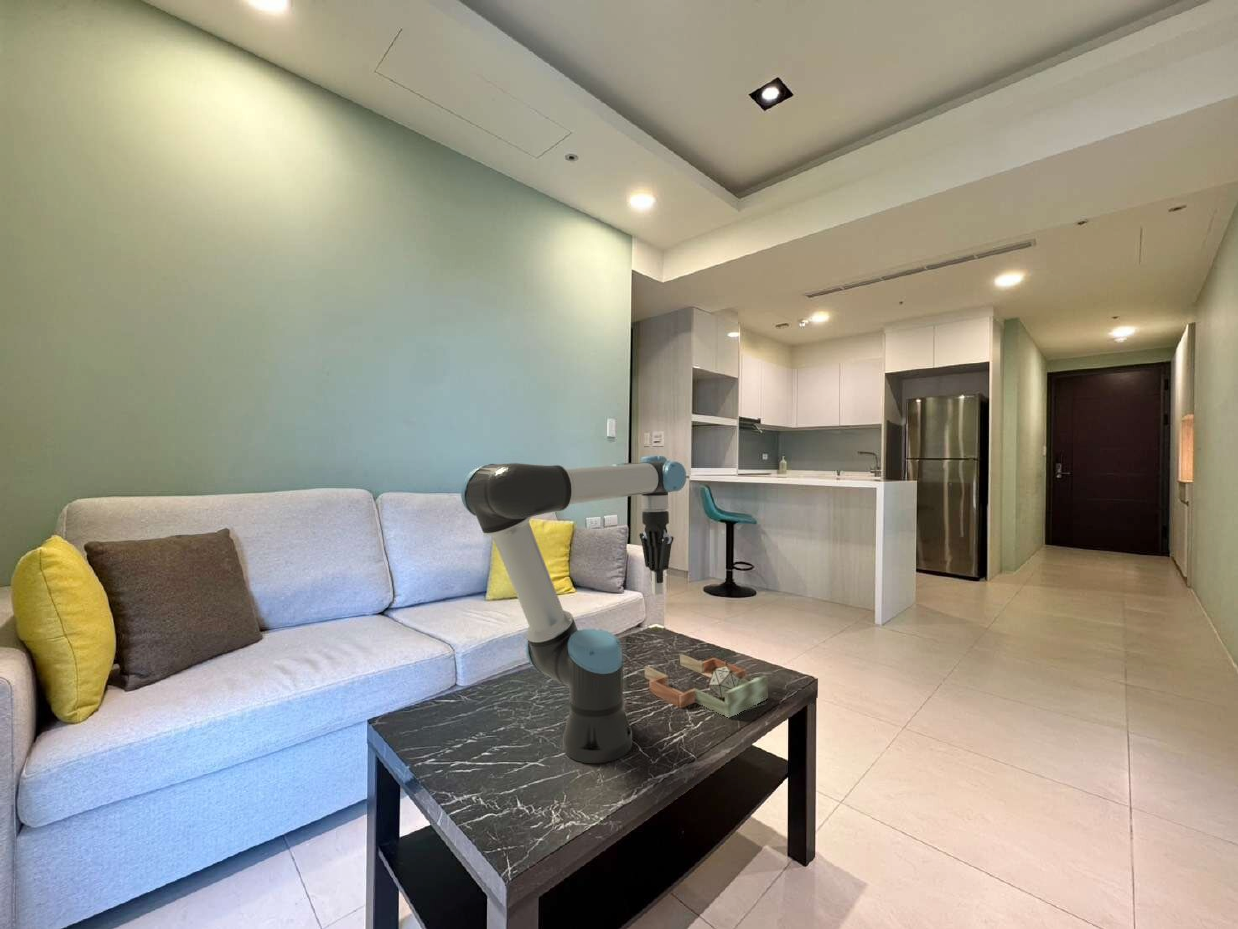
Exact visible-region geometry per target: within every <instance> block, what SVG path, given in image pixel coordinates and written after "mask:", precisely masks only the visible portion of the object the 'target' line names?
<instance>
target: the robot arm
mask: <svg viewBox="0 0 1238 929" xmlns="http://www.w3.org/2000/svg"><path fill="white" fill-rule="evenodd" d="M686 482H687V471H686V468H685V467H684V465H683V464H682V463H680V462H679V461H671V460H667V457H666V456H664V455H648V456H647V455H646V456H642V457H641V459H640V462H619V463H618V462H617V463H613V464H611V465H604V466H592V467H577V468H576V467H575V468H565V467H564V465H563V466H562V465H559V464H557V465H543V464H542V465H540V464H529V463H528V464H527V463H520V462H519V463H518V462H516V463H515V462H514V463H513V462H511V463H510V462H509V463H499V464H498V463H497V464H496V463H489V464H488V463H487V464H486V465H481V466H478V467H476V468H474V469H473V470H472V471H470V472H469V473H468V474H467V476H466V477H465V479H464V481H463V483H462V485H461V490H460V498H461V502H462V505H463V506H464V508H465V509H466V510H467V511H468V512H469V513H470V514H471V515H473V516H475V517H476V519H477V522H478V524H479V526H480V529H481V531H482V533H483V534H484V535H486V536H487V535H488V536H490V537H492V538H493V541H494V543H495V546H496V549H497V551H498V554H499V555H500V559H501V560H502V563H503V565H504V567H505V571H506V572H507V575H508V578H509V580H510V583H511V584H512V588H513V590H514V592H515V595H516V597H517V600H518V602H519V604H520V607H521V609H522V612H523V614H524V617H525V619H526V622H527V623H528V628H527V629H526V631H525V637H526V639H527V643H526V644H525V653H526V658H527V660H528V662H529V663H530V665H531V666H532V667H533V668H534V669H535V670H536V671H537V672H538V673H540V674H542V675H544V676H547V677H549V678H550V679H552V680H554V681H557V682H558V683H561V684H562V685H564V686H566V687H568V688H569V712H568V716H567V720H566V723H565V728H564V731H563V734H562V748H563V752H564V753H565V755H566V756H567V757H568V758H570V759H572V760H574V761H576V762H577V761H578V762H581V763H585V764H605V763H610V762H612V761H615V760H618V759H620V758H622V757H624V756H625V755H626V754H627V753H629V752H630V750H631V749H632V746H633V731H632V728H631V725H630V721H629V719H628V717H627V714H626V711H625V708H624V675H623V674H624V673H623V672H624V671H623V669H624V668H623V667H624V666H623V665H624V664H623V658H624V656H623V654H622V652H623V651H622V645H621V644H622V643H621V641H620V640H619V638H618V637H617V636H616V634H613V633H612V632H610V631H607V630H603V629H596V628H585V629H583V628H582V629H579V630H578V627H577V625H576V622H575V620H574V616H573V614H572V613H571V612H570V611H567V610H564V609H563V606H562V604H561V601H560V599H559V596H558V593H557V591H556V588H555V585H554V583H553V581H552V578H551V576H550V573H549V570H548V567H547V565H546V563H545V560H544V557H543V554H542V551H541V549H540V546H539V544H538V542H537V539H536V536H535V533H534V532H533V529H532V525H531V523H530V521H531V518H532V517H536V516H539V515H540V516H541V515H546V514H550V513H555V512H561V511H564V510H566V509H568V508H569V506H570V505H577V504H583V503H590V502H595V501H597V502H598V501H602V500H603V501H605V500H611V499H618V498H625V497H632V496H640V495H641V510H643V511H642V514H641V515H642V516H641V520H642V524H643V525H645V526H644V531H643V532H641V533H639V535H638V536H639V539H640V541H641V546H642V553H643V558H644V560H643V561H644V564H645V568H648V570H649V571H650V582H651V594H652V595H654V596H657V595H662V594H663V592H664V591H663V582H664V571H667V570H668V569H669V566H670V565H669V564H670V558H671V551H672V544H673V542H674V539H675V538H674V536H672V535H669V534H668V528H667V525H668V524H669V523H670V518H669V517H670V515H669V514H670V513H669V511H668V510H669V493H673V492H679V491H681V490H682V489H683V488H684V487H685V485H686Z"/></svg>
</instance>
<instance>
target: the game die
mask: <svg viewBox="0 0 1238 929" xmlns="http://www.w3.org/2000/svg"><path fill="white" fill-rule="evenodd" d="M727 663H728V662H726V663H725V665H726V666H723V667H720V668H717V669H714V667H712V669H713V670H714V671H713V672H711V674H712V677H711V678H710V679H709V684H706V685H705V687H707V688H708V687H709V688H710V689H711V690H712V691H713V692H714V693H715V694H716V695H717V696H718V697H720V700H722V701H723V699H725V692H726V691H728V690H730V689H733V688H735V687H737V685H738V682H739V679H742V678H743V677H738V676H737V675H736V674H735V673H734V672H733V671H732V670H731V669H730V668H729V667H728V666H727Z"/></svg>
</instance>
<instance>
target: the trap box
mask: <svg viewBox="0 0 1238 929" xmlns="http://www.w3.org/2000/svg"><path fill="white" fill-rule="evenodd" d="M679 659H680V660H679V661H680V663H679V664H680V666H682V667H685V668H686V669H689V670H692V671H693V672H696V673H699V674H701V675H703V676H706V677H708V678H710V679H711V677H712V674H711V672H713V671H714V670H713V669H712V667H714V669H717V668H720V667H723V666H726V665H725V663H727V666H728V667H729V668H730V669H731V670H732V671H733V672H734V673H735V674H736V675H737V676H738V677H743V678H742V679H739V682H738V685H737V687H735V688H733V689H730V690H728V691H726V692H725V698H724V701H722V700H721V699H719V698H718V697H715V696H713V695H711V694H709V693H706V692H704V691H702V690H700V689H698V688H695V687H694V688H692V689H691V688H690V689H689V690H687V691H684V692H682V691H680V690H678V689H676V688H674V687H671V686H670V684H669V681H670V680H669V675H668V674H665V673H663V672H661V671H658V669H654V668H652V667H650V666H644V678H645V679H647V680H649V681H648V684H649V692H650V693H651V694H653V695H655V696H656V697H658V698H660V699H662V700H663V701H666V702H667V703H670V704H671V705H673V706H675V707H677V708H679V709H683V708H685V707H688V706H690V705H693V704H695V703H696V704H698V705H700V706H702V705H703V706H702V707H704V706H705V707H704V708H706V707H707V708H706V709H708V708H709V709H708V710H710V711H712V710H714V711H715V712H714V711H713V712H714V713H716V712H717V713H716V714H718V713H719V714H718V715H720V714H721V715H720V716H722V715H725V716H726V717H728V718H729V717H731V716H734V715H736V716H738V715H739V713H740V712H742V711H744V710H746V711H748V710H750V709H751V708H750V707H752V706H753V705H756V706H758V705H757V704H758V703H760V702H761V701H763V700H766V699H767V698H768V699H769V693H768V692H769V690H768V688H769V686H768V685H769V684H768V676H767V675H765V674H762V675H761V676H758V677H755V678H754V679H751V680H748V679H747V670H746V668H745V669H744V668H743V667H739V666H737V665H734V664H732V663H730V662H729V663H728V662H727V661H726V662H725V661H723V660H721V659H719V658H716V657H712V658H709V659H706V660H702V661H701V660H698V659H696V658H693V657H690V656H688V655H685V654H680V655H679ZM749 708H750V709H749ZM752 708H753V707H752ZM747 709H748V710H747ZM744 712H745V711H744ZM742 713H743V712H742ZM737 714H738V715H737ZM740 714H741V713H740ZM726 717H725V718H726ZM734 717H735V716H734ZM728 718H727V719H728Z"/></svg>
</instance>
